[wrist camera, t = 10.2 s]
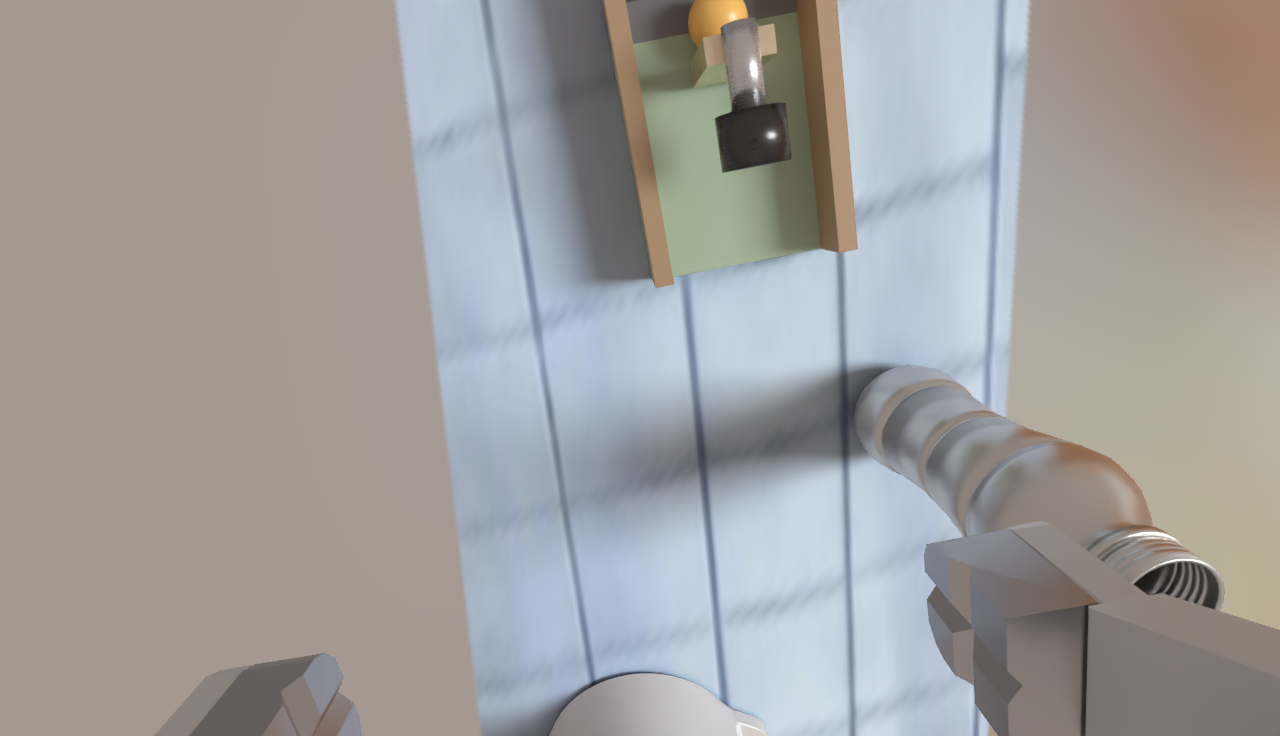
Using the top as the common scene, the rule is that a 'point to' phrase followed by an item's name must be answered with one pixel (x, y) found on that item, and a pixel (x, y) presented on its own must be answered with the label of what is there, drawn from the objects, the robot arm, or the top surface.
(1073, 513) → the plastic bottle
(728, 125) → the glass stem black base
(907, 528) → the top surface
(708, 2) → the ball
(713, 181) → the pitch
